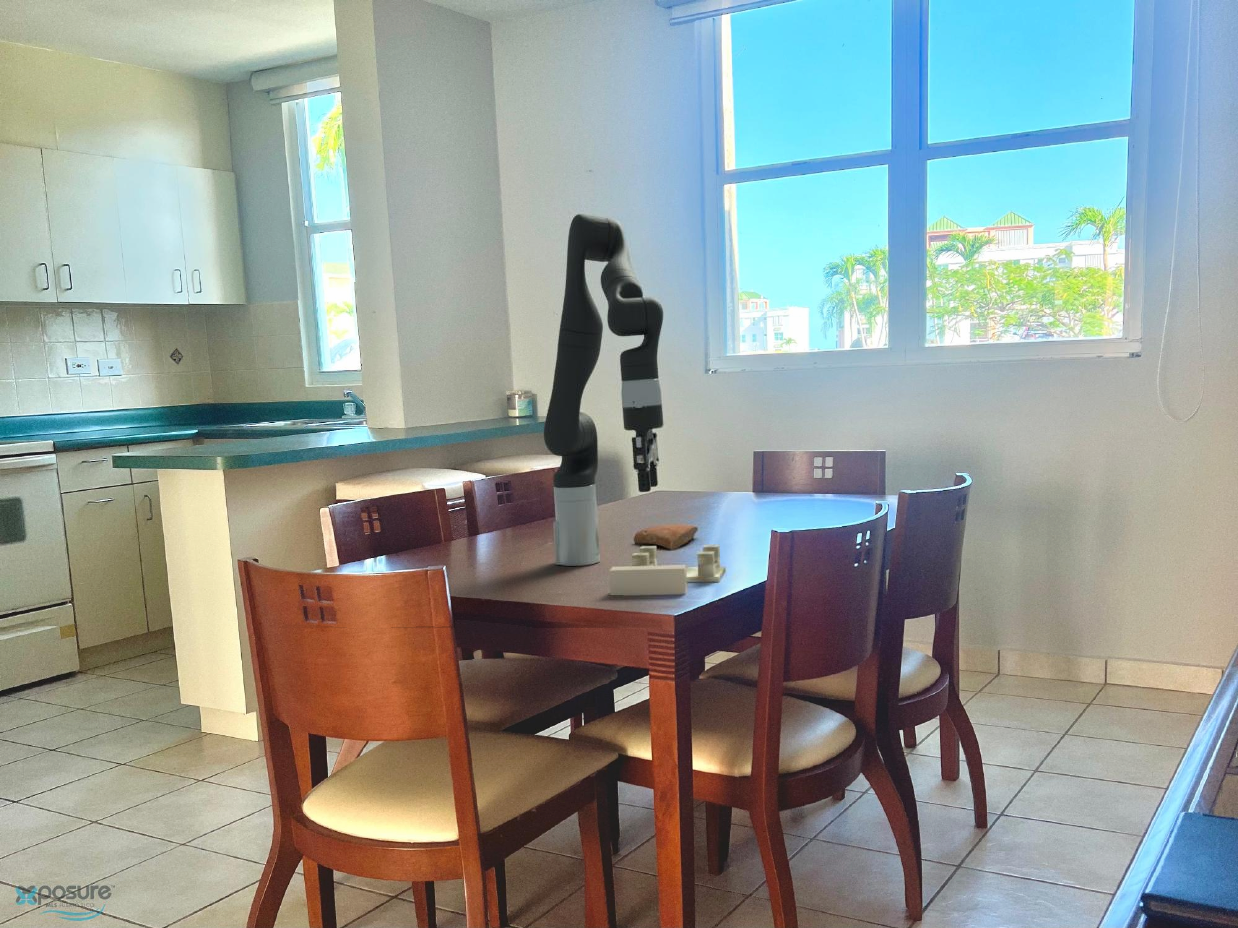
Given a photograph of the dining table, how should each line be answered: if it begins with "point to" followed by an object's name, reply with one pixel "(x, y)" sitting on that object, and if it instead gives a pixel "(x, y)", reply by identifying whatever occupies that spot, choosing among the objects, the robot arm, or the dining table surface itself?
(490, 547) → the dining table surface
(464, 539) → the dining table surface
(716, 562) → the rack
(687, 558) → the dining table surface
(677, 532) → the ceramic shard
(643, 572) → the clay bar
